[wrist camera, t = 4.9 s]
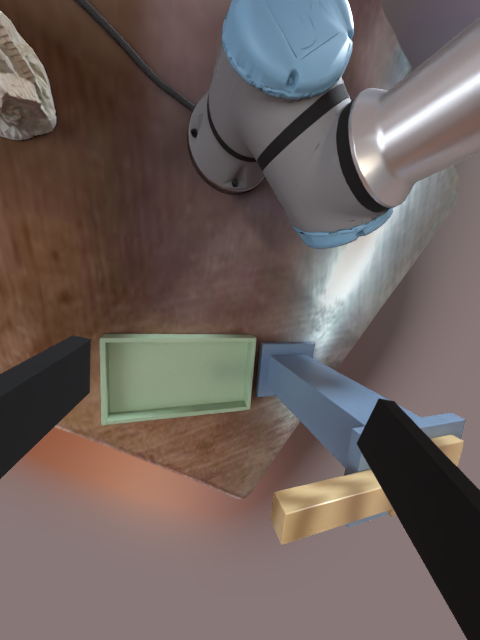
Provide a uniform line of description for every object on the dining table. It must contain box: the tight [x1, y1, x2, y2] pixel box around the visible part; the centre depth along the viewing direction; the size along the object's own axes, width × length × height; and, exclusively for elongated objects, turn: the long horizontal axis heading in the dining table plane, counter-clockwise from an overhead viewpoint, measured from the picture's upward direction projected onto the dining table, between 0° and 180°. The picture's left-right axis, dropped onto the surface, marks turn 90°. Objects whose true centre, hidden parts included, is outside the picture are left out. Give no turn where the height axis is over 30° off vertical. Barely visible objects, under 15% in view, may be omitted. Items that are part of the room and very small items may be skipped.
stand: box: [255, 342, 466, 527], centre depth 39 cm, size 15×12×30 cm
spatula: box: [271, 435, 464, 544], centre depth 22 cm, size 22×7×2 cm, turn 86°
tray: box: [100, 334, 256, 425], centre depth 45 cm, size 28×16×3 cm, turn 85°
